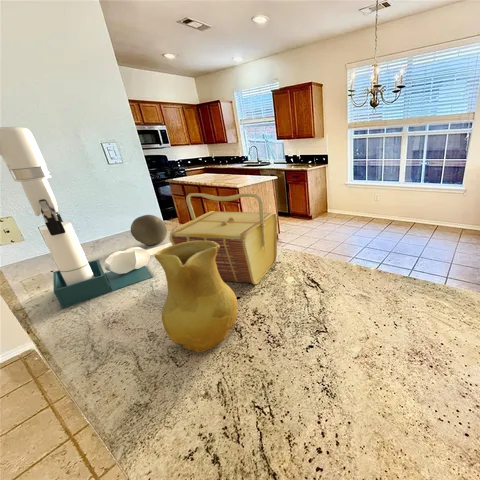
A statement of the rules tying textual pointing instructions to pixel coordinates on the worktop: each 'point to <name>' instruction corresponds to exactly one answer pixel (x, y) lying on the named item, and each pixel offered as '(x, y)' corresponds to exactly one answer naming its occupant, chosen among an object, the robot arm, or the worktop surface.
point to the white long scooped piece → (130, 259)
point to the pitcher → (196, 296)
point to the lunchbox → (95, 284)
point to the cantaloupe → (149, 230)
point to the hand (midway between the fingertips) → (58, 230)
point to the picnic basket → (234, 239)
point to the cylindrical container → (68, 254)
